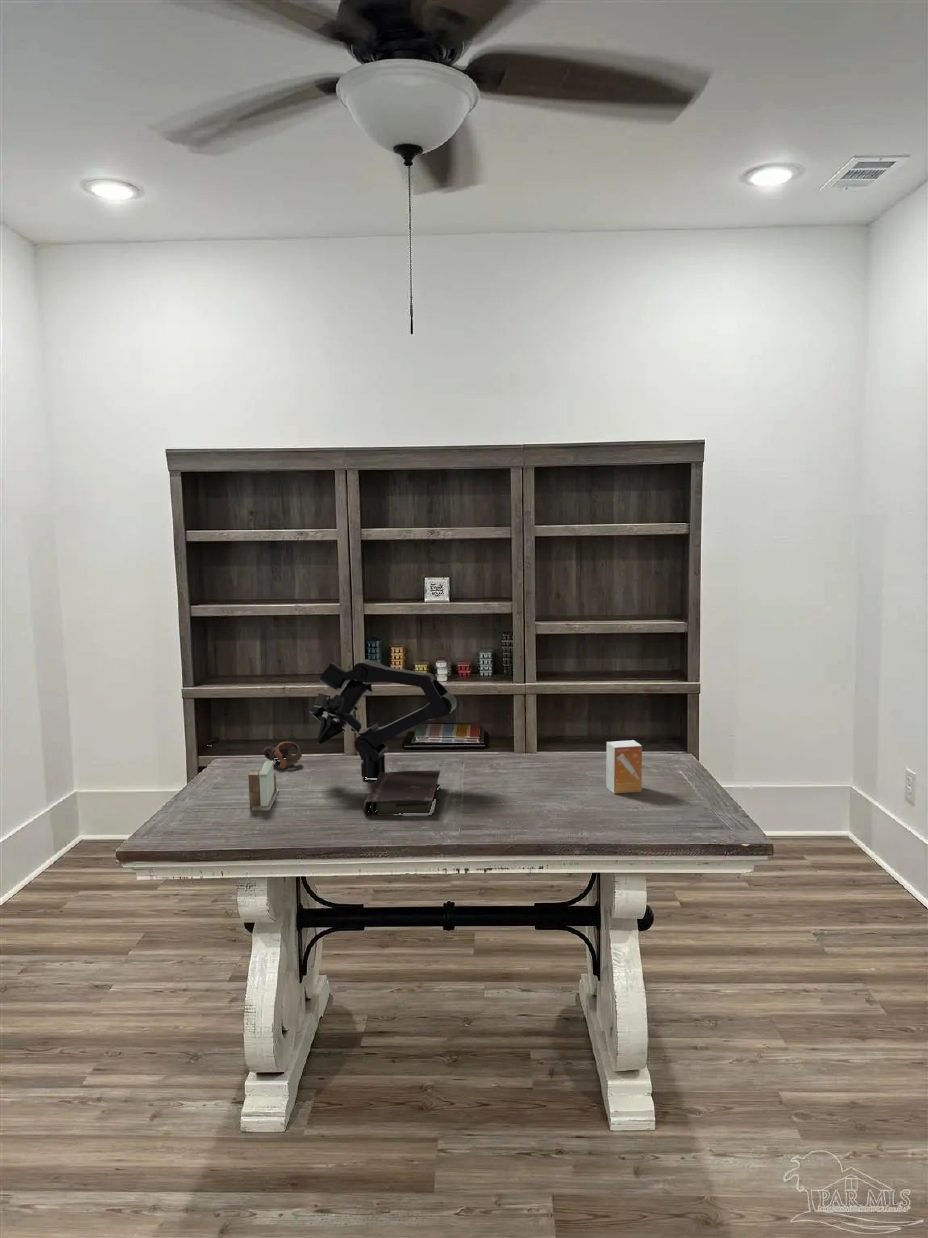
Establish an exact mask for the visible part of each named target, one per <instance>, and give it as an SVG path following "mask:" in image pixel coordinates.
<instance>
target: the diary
mask: <svg viewBox="0 0 928 1238" xmlns="http://www.w3.org/2000/svg"><path fill="white" fill-rule="evenodd" d="M440 774H441V770H403V771H402V770H400V771H399V770H398V771H388V772H387V771H385V772H380V774H379V776H378V778H377V780H375V781H374V784H373V786H372V787H371V789H370V792H369V794H368V796H367V797H366V799H365V800H364V802H363V809H362V810H363V815H364V816H365V815H367V813H368V811H369V809H370V806H371V809H370V811H371V813H372V815H373V814H374V813H375V811H376V810H377V811H376V813H375V814H377V815H378V814H399V813H401V814H403V813H429V812H430V809H431V806H432V802H433V801H434V799H436V800H437V801H439V791H438V790H437V788H438V787H439V786H440V785H441V783H440V784H439V782H438V781H439V777H440ZM370 811H369V812H370ZM368 814H369V813H368ZM432 814H433V815H434V813H432ZM367 816H368V815H367Z"/></svg>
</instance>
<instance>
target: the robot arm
mask: <svg viewBox="0 0 928 1238" xmlns="http://www.w3.org/2000/svg"><path fill="white" fill-rule="evenodd" d="M319 682H320V683H322V684H323V685H325V686H327V688H328V687H329V688H330V689H332V690H334V691H335V692H338V691H339V690H340V691H341V693H340V694H337V693H332V694H331V695H328V694H325V693H320V692H318V693H317V697H316V700H315V702H314V704H316V705H312V707H311V708H310V709H309V713H310V714H311V715H312V717H314V718H315V719H316V720H318V721H319V723H321V724H320V729H319V733H318V736H317V738H316V743H317V744H318V745H323V743H325V742H327V741H329V740H330V739H332V738H334V737H336V736H338V735H339V734H342V733H344V732H345V733H346V729H345V728H346V726H349V727H350V731H351V732H352V733H355V734H358V736H357V737H356V738H355V739H354V749H355V751H356V752H358V754H359V757H360V759H361V763H360V769H361V770H360V771H361V778H362V781H363V780H365V779H366V778H365V777H367V778H378V776H379V774H380V772H386V753H387V752H388V749H389V747H388V746H387V745H386V744H385V743H384V742H386V741H388V740H389V739H391V738H393V737H396V736H398V735H400V734H402V733H404V732H406V731H409V730H410V729H413V728H415V727H416V726H418V725H421V724H422V723H424V722H427V721H431V720H437V719H441V718H443V717H446V716H448V715H450V714H451V713H452V712H453V711H454V710H455V709H456V707H457V703H458V702H457V698H456V696H455V695H454V694H453V693H451V692H449V691H448V690H447V689H446V687H445V686H444V685H443V684H442V683H441V682H440V681H439V680H438V679H436V677H435V676H434V674H432V673H431V672H421V671H415V670H408V669H404V668H402V669H401V668H397V667H390V666H387V665H384V664H382V663H380V662H378V661H374V660H372V659H364V660H361V661H359V662H358V663H356V664H355V665H354V666H353V668H350V669H348V670H346V669H345V668H343V667H341V666H340V665H338V664H337V663H335V662H333V661H332V662H330V663H329V665H328V666H327V667H326V668H325V670H324V672H322V673H321V676H320V678H319ZM376 682H377V683H378V682H386V683H393V684H399V685H404V686H411V687H417V688H421V690H422V691H423V694H424V695H425V698H426V700H427V701H428V703H427V704H426V705H425V706H423V707H421V708H418V709H417V710H414V711H413V712H411V713H409V714H406V715H404V716H402V717H401V718H399V719H397V720H394V721H393V722H391V723H388V724H387V725H383V726H379V724H378V723H377V722H376V723H375V724H374V725H372V726H370V727H366V728H364V729H363V730H362V723H361V722H360V720H358V719H357V718H356V717H355V716H354V715H353V714H352V712H357V711H358V710H359V708H358V707H357V706H358V704H359V702H360V701H361V700H362V698H363V697H364V695H365V694H368V695H369V696H373V689H372V687H373V686H372V683H376ZM323 706H324V707H323ZM361 730H362V731H361ZM363 777H364V778H363Z"/></svg>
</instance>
